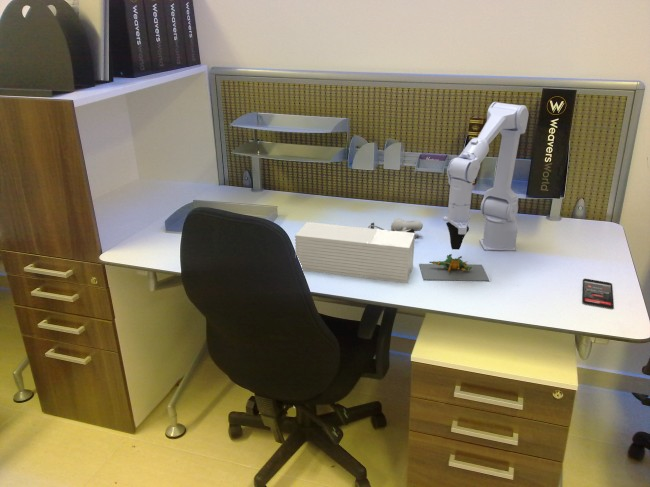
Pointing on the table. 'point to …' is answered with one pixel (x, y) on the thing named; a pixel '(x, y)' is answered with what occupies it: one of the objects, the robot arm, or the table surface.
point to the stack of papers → (356, 251)
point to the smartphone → (597, 294)
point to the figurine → (453, 263)
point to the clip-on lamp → (403, 226)
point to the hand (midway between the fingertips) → (455, 248)
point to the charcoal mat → (453, 273)
